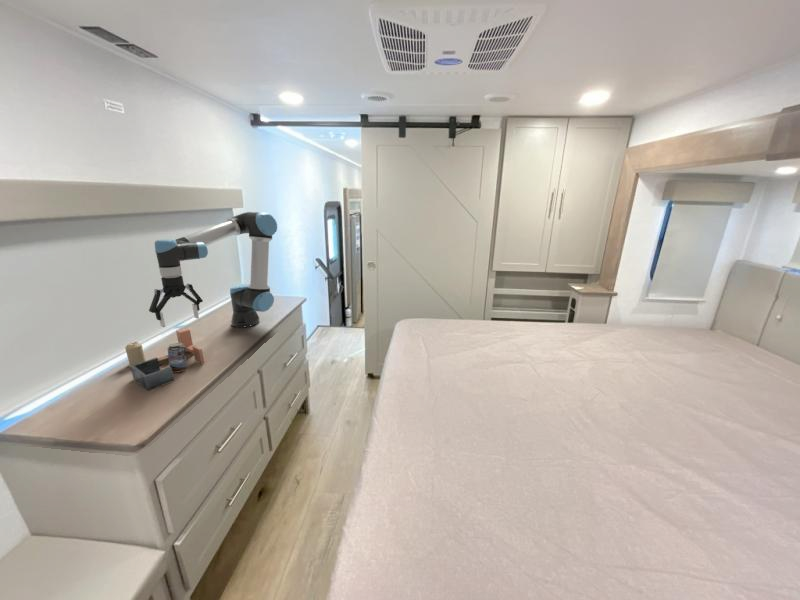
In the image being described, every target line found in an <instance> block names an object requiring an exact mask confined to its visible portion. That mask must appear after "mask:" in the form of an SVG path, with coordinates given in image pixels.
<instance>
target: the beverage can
mask: <svg viewBox="0 0 800 600" xmlns="http://www.w3.org/2000/svg"><path fill="white" fill-rule="evenodd" d="M167 355H168V358H169V364H168V365H169V366H168V367H171V368H172V372H173V373H180V372H183V371H185V370H186V369H187V368H188V363H187V358H186V351H185V346H184V345H183V343H179V342H174V343H171V344H169V345H168V347H167Z"/></svg>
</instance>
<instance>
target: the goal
mask: <svg viewBox="0 0 800 600" xmlns="http://www.w3.org/2000/svg"><path fill="white" fill-rule="evenodd" d="M158 358H159V357H153V358H150V359H147V360H146V361H144V362H141V363H138V364H135V365H132V366H130V365H129V368H130V371H131V375H132V379H133V380H134V381H135V382H136V383H138V384H139V385H140V386H141V387H143V389H145V390H146V391H151V390H153V389H155V388H159V387H161V386H163V385H165V384H168V383H170V382H173V381H175V377H174V372H172V368H171V367H169V366H168V367H165V368H162V369H161V367H159V362H158Z"/></svg>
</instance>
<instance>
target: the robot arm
mask: <svg viewBox="0 0 800 600" xmlns="http://www.w3.org/2000/svg"><path fill="white" fill-rule="evenodd" d="M277 230H278V224H277V221H276V218H274V216H273V215H272V214H270V213H268V212H257V211H255V212H254V211H247V212H243V213H240V214H237V215H234V216H232V217H230V218H227V220H226V221H224V222H221V223H219V224H216V225H213V226H209V227H208V228H204V229H201V230H198V231H196V232H193V233H191V234H188V235H185V236H182V237H179V238H176V239H169V238H167V239H157V240H155V242H154V250H155V251H154V252H155V255H156V259H157V263H158V269H159V274H160V277H161V278H160V279H161V283H162V289H157V288H156V289H154V295H153V297H152V301H151V304H150V307H149V309H148V312H149V313H151V314H155V319H156V320H157V321H159V324H160V327H162V328H166V324H165V318H164V312H162V310H163V309H164V307H165V306H166V304H167V302H169V300H171V298H176V297H178V298H179V297H181V296H183V297H185V298H186V299H187V300H189V301H190V302H192V303H193V304H191V305H192V311H193V317H194V318H195V319H199V311H200V303H203V301H204V300H203V299H202V298H201V297H200V295H199V294H198V292H197V291H196V290H195V289H194V287H193V285H192V284H191V283H187V284H186V285H185V284H184V283H185V282H184V278H183V277H184V276H182V275H183V272H182V267H181V262H182V261H191V260H200V259H205V258H207V256H208V254H209V251H208V246H209V245H212V244H215V243H217V242H219V241H221V240H222V241H223V240H224V239H227V238H229V237H232V236H240V235H242V234H248V237H249V239H250V240H251V260H250V261H251V263H250V283H249V284H248V283H247V284H246V283H245V284H240V285H239V284H238V285H235V286H232V287H231V288H230V289H229V294H230V298H231V299H230V301H231V306H232V316H231V321H230V323H231V326H232V325H233V326H237V327H236V328H239V327H241V328H245V327H244V326H250V325H253V326H255V325H254V324H256V323H258V322H259V320H260V316H259V314H258V313H257V312H260V313H262V312H267V311H269V310H270V309H271V307H273V305H274V302H275V296H274V295H273V293H272V292H270V291H271V287H270V286H269V285H268V279H269V278H268V277H269V275H268V273H269V252H270V250H269V249H270V242H271V241H272V240H273V236H274V235H275V234H276V232H277ZM186 289H187V290H188V291H189V292H190V293H191V295H192V296H193V297H194V298H193V297H192V296H190V295H189V294H188V293H187V292H185V290H186ZM163 293H164V295H163V296H162V299H161V295H162V294H163ZM160 299H161V300H160ZM259 323H260V322H259ZM259 323H258V324H259ZM256 325H257V324H256ZM233 326H232V327H233ZM250 327H251V326H250Z"/></svg>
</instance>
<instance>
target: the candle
mask: <svg viewBox="0 0 800 600" xmlns="http://www.w3.org/2000/svg"><path fill="white" fill-rule="evenodd" d="M125 352H126V356H127V359H128V364H129V367H130V366H132V365H135V364H138V363H141V362H144V361H147V360H146V358H145V357H146V356H145V351H144V349H143V344H142V343H140V342H138V341H134V342H129V343H128V344H127V345H126V346H125Z"/></svg>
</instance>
